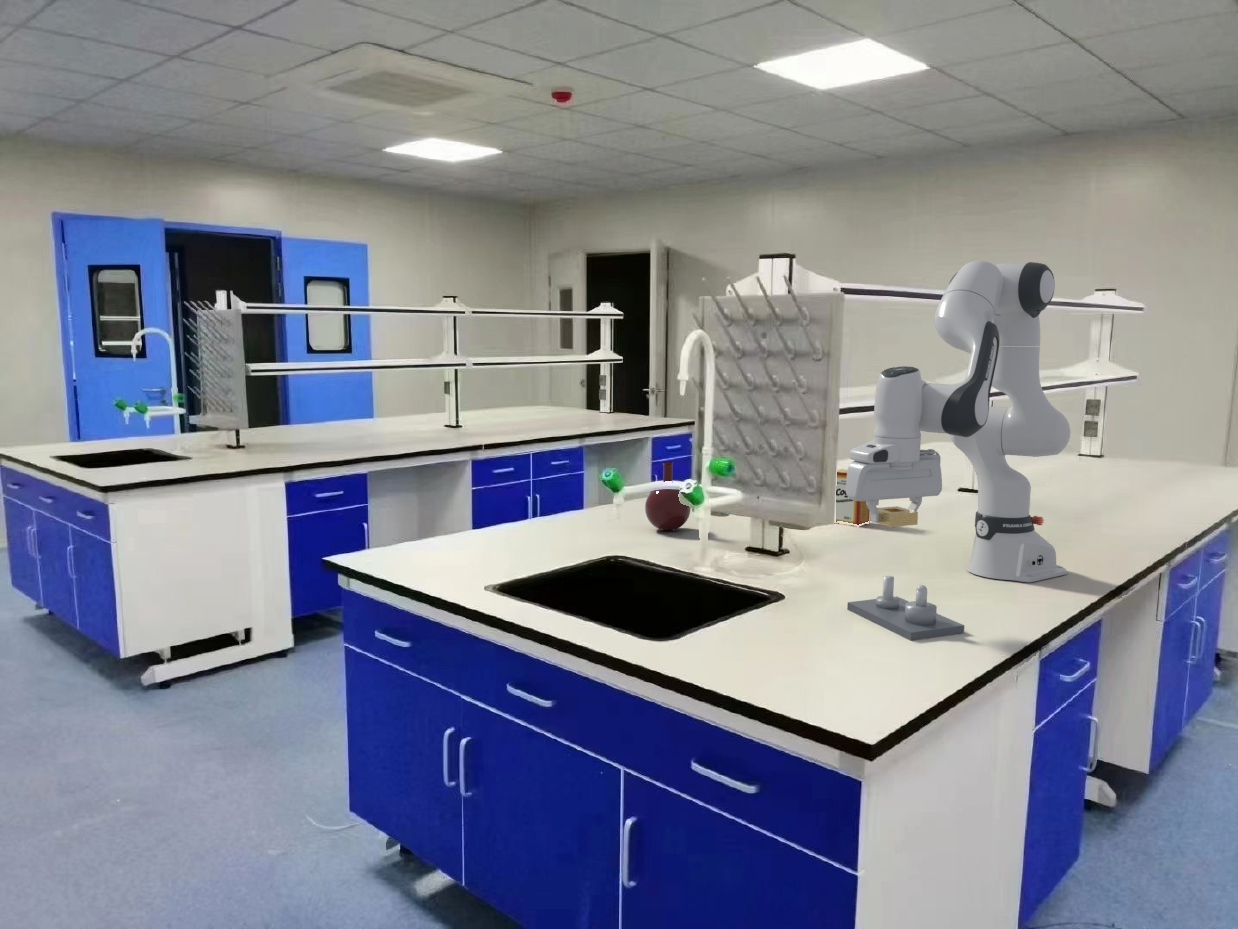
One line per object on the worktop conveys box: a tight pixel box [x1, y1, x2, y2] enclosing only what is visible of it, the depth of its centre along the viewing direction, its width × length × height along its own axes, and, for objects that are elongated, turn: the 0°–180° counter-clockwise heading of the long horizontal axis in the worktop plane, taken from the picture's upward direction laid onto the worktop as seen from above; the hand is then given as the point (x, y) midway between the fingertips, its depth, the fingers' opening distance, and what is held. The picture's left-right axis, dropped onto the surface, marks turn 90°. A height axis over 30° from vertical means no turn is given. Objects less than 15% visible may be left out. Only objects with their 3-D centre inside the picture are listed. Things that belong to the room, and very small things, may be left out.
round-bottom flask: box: [644, 461, 691, 531], centre depth 253 cm, size 13×13×20 cm
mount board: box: [846, 575, 965, 641], centre depth 170 cm, size 12×20×8 cm, turn 20°
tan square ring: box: [869, 506, 919, 528], centre depth 172 cm, size 6×6×2 cm
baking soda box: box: [836, 468, 870, 525], centre depth 262 cm, size 10×6×16 cm
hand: (893, 520), depth 172 cm, fingers closed on tan square ring, 6 cm apart
